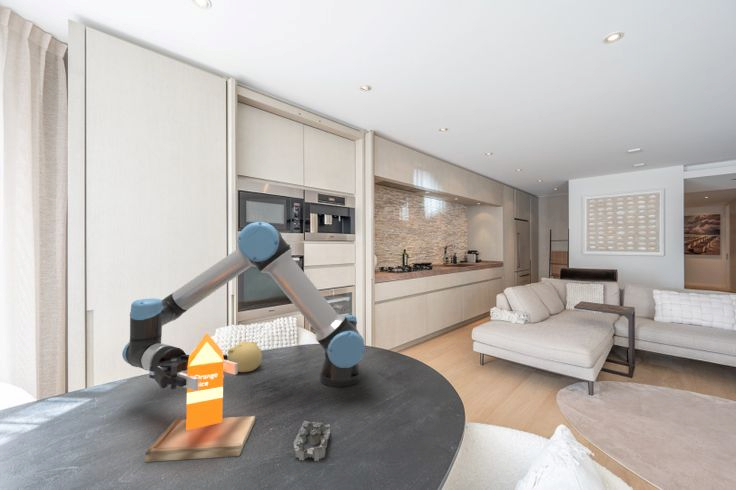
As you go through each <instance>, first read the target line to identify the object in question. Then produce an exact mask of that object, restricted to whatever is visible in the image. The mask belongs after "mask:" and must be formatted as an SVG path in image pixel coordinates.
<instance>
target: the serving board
mask: <svg viewBox="0 0 736 490" xmlns="http://www.w3.org/2000/svg"><path fill="white" fill-rule="evenodd" d="M186 420H187V419H183V417H182V416H178V417H176V418H175V419H174V420H173V422H172V423H171V424H170V425H169V426H168V427H167V428H166V429H165V430H164V431H163V433H161V435H159V437H158V438H157V439H156V440H155V441H154V442H153V443H152V444H151V445H150V447H148V448H147V450H146V451H145V463H149V462H150V463H151V462H153V463H154V462H167V461H181V460H182V461H183V460H193V459H194V460H196V459H209V458H213V459H214V458H224V457H228V458H229V457H238V456H239V457H240V455H241V453H242V451H243V448H244V447H245V444H246V443H247V439H248V437H249V435H250V433H251V432H252V428H253V427H254V425H255V422H256V415H250V416H249V415H248V416H246V415H245V416H233V417H231V416H229V417H222V422H221V423H216V424H212V425H208V426H203V427H199V428H194V429H190V430H186Z"/></svg>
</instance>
